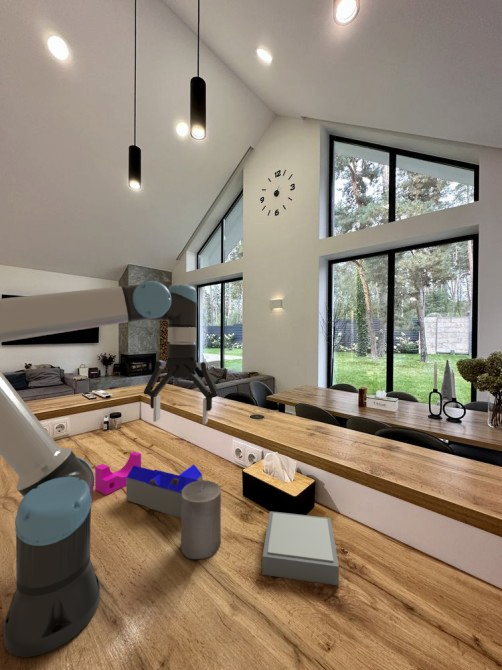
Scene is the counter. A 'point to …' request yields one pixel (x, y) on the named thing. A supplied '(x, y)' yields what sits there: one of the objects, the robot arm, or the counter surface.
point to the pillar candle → (200, 519)
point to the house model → (159, 488)
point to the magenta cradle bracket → (115, 475)
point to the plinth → (300, 548)
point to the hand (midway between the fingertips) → (180, 421)
